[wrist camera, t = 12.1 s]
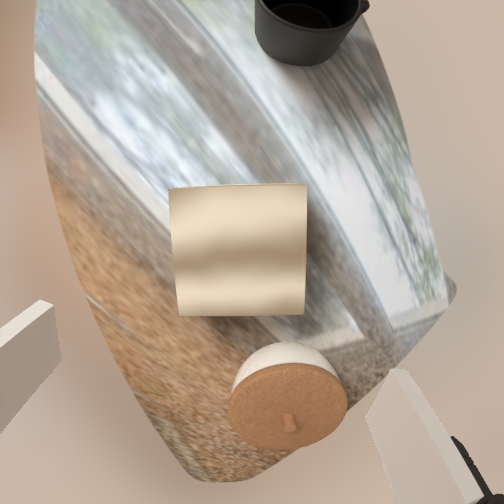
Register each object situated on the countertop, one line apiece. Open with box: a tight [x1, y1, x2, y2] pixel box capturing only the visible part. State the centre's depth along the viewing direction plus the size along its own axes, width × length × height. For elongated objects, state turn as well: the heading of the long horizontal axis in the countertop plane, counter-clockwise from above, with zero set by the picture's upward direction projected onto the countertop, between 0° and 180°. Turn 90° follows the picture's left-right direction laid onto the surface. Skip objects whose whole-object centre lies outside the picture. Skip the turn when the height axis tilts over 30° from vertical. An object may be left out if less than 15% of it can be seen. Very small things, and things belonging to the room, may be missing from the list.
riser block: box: [168, 184, 307, 316], centre depth 30 cm, size 12×12×6 cm
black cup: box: [255, 0, 370, 66], centre depth 22 cm, size 9×12×9 cm
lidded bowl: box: [227, 342, 348, 450], centre depth 31 cm, size 13×13×11 cm
